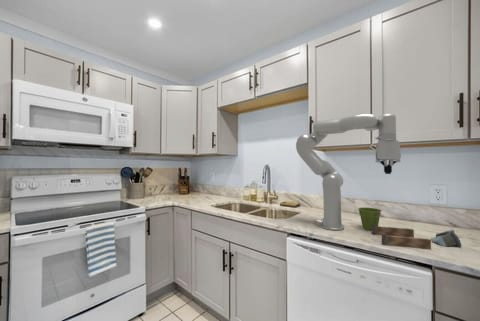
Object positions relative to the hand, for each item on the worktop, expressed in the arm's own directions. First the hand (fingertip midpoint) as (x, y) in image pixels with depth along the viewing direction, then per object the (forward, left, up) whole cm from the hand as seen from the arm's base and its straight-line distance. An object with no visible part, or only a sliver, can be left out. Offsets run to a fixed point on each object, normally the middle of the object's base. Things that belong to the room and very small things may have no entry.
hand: (387, 173), depth 110 cm
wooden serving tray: (+2, -6, -32) cm, 33 cm away
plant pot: (-6, +11, -32) cm, 35 cm away
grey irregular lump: (+20, -4, -33) cm, 38 cm away
